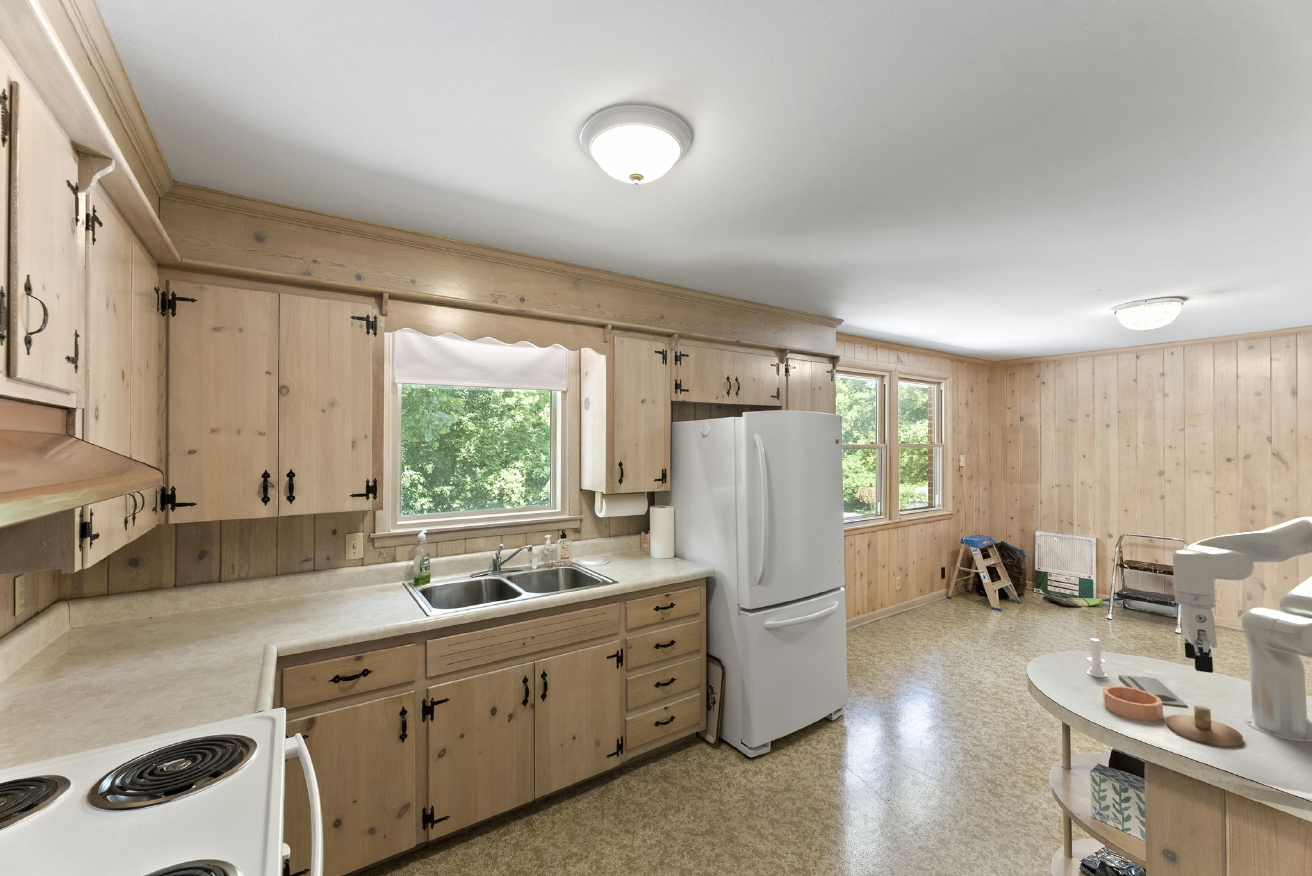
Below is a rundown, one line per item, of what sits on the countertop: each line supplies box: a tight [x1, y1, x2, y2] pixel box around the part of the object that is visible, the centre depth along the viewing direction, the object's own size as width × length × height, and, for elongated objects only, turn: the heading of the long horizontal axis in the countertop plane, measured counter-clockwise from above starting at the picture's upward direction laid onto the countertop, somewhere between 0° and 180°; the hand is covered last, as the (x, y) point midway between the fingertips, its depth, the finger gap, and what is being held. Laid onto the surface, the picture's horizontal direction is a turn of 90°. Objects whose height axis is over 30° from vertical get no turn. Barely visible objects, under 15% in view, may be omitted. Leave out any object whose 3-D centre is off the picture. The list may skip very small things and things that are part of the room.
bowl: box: [1102, 685, 1164, 722], centre depth 155 cm, size 12×12×5 cm
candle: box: [1086, 637, 1108, 678], centre depth 181 cm, size 5×5×12 cm
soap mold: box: [1118, 674, 1189, 708], centre depth 166 cm, size 10×20×4 cm, turn 157°
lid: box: [1165, 705, 1244, 748], centre depth 142 cm, size 14×14×6 cm
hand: (1198, 664), depth 143 cm, fingers open, 9 cm apart
